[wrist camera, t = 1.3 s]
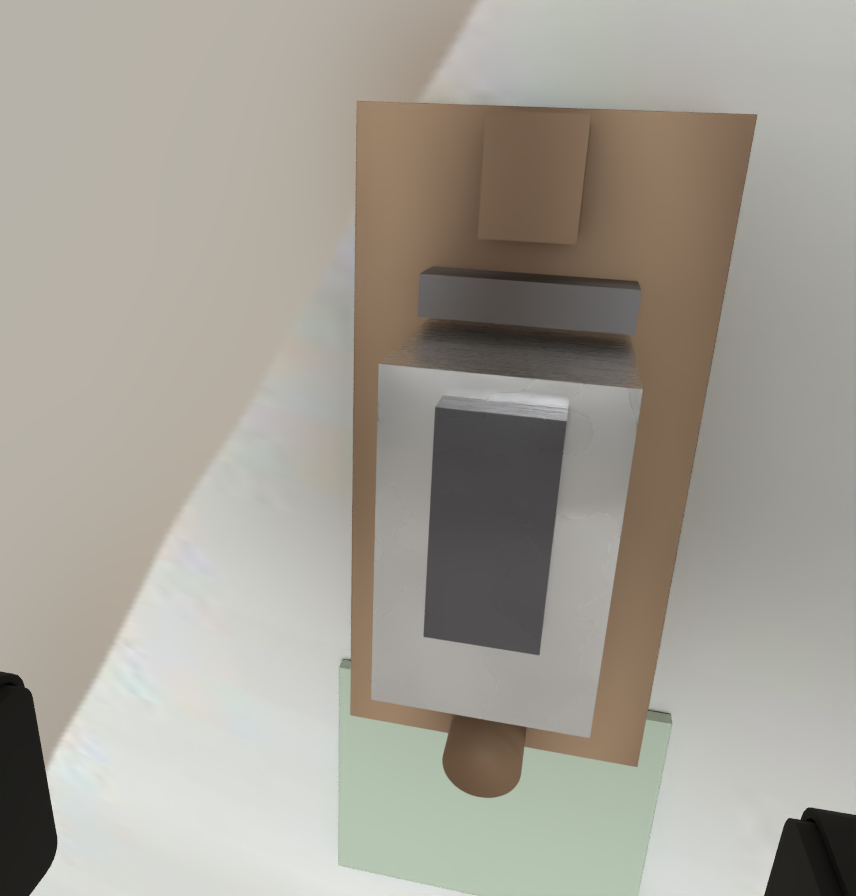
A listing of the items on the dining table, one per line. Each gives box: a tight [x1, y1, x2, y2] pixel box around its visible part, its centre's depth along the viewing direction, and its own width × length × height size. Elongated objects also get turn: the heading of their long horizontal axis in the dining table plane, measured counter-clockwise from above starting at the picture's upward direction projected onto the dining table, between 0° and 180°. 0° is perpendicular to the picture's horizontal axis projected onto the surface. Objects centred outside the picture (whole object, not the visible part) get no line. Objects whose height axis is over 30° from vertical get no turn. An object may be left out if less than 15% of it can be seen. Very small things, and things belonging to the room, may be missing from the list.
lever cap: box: [371, 318, 643, 738], centre depth 17 cm, size 5×8×6 cm, turn 177°
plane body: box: [350, 101, 757, 798], centre depth 21 cm, size 9×18×7 cm, turn 177°
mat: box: [338, 660, 672, 896], centre depth 29 cm, size 12×10×1 cm
